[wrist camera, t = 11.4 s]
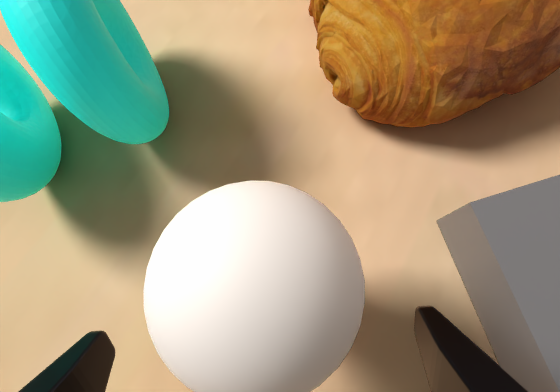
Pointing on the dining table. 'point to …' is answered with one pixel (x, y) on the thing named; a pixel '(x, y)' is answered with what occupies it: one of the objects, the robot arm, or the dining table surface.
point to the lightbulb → (254, 291)
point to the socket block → (514, 276)
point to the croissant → (433, 54)
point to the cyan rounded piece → (72, 85)
